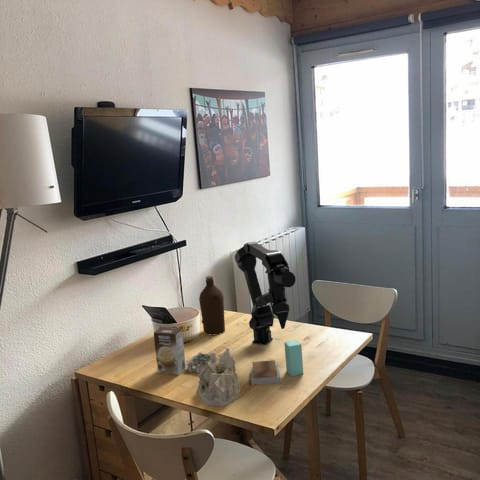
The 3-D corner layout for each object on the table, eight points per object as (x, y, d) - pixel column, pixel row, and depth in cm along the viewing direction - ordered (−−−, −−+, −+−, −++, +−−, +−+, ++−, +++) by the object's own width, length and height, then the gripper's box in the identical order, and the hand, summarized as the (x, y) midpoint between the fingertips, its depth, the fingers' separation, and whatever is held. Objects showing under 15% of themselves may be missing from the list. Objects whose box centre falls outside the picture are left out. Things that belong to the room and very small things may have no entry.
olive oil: (231, 328, 235) (226, 274, 231) (217, 337, 226) (212, 280, 222) (211, 326, 241) (206, 273, 236) (197, 334, 232) (192, 279, 227)
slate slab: (251, 386, 180) (251, 379, 180) (251, 373, 190) (250, 367, 190) (280, 384, 180) (280, 377, 180) (278, 371, 190) (278, 365, 190)
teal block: (286, 371, 188) (284, 342, 186) (298, 368, 189) (296, 339, 187) (291, 376, 184) (289, 346, 182) (303, 373, 185) (301, 344, 183)
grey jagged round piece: (209, 379, 187) (205, 340, 183) (249, 388, 179) (246, 348, 175) (183, 401, 174) (178, 360, 170) (226, 413, 166) (221, 370, 162)
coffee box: (157, 373, 195) (152, 332, 192) (164, 366, 201) (160, 326, 198) (179, 375, 192) (174, 333, 189) (186, 368, 198) (182, 327, 195)
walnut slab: (253, 378, 181) (252, 371, 180) (252, 368, 189) (252, 361, 188) (276, 376, 181) (276, 369, 180) (275, 366, 189) (274, 360, 188)
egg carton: (201, 375, 192) (200, 364, 191) (184, 371, 195) (183, 361, 195) (216, 363, 201) (216, 353, 200) (200, 360, 204) (199, 350, 204)
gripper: (254, 284, 207) (260, 323, 208) (255, 292, 189) (261, 334, 190) (282, 280, 207) (288, 319, 208) (286, 287, 189) (292, 330, 190)
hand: (282, 325), depth 199 cm, fingers open, 9 cm apart
